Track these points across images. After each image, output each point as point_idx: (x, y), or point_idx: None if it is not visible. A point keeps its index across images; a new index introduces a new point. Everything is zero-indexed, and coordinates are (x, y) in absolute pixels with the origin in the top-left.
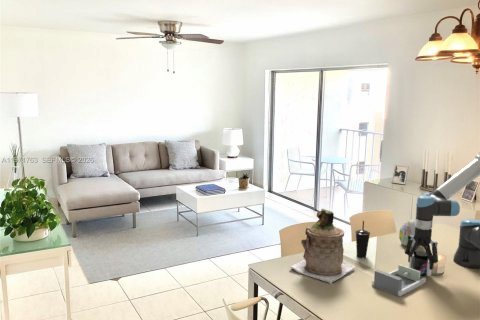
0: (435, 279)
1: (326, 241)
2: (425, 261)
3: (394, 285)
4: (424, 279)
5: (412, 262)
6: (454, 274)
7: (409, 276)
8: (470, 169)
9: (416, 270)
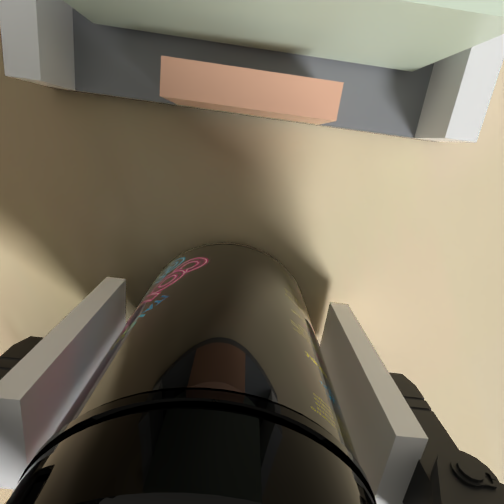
0: (42, 283)
1: None
2: (66, 415)
3: None
4: (5, 24)
5: (346, 391)
6: (3, 495)
7: None
8: None
9: None
